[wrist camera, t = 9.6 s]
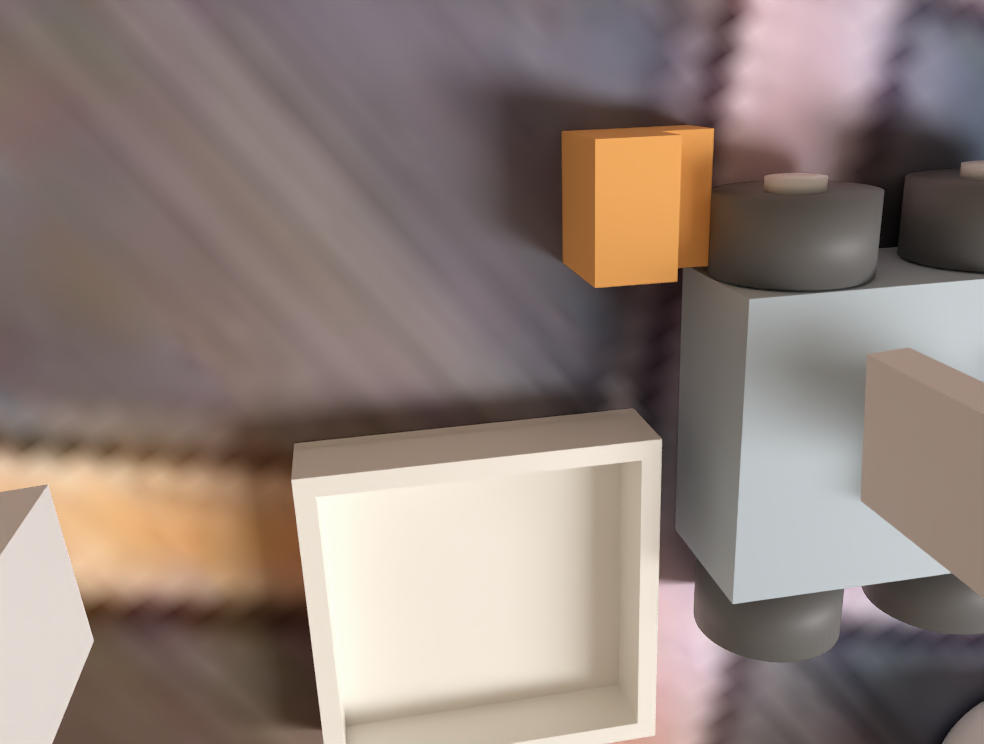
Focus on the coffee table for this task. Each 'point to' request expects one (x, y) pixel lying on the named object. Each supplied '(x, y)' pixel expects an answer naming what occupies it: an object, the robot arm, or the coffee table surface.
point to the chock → (636, 202)
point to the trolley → (815, 401)
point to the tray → (484, 581)
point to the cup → (968, 728)
